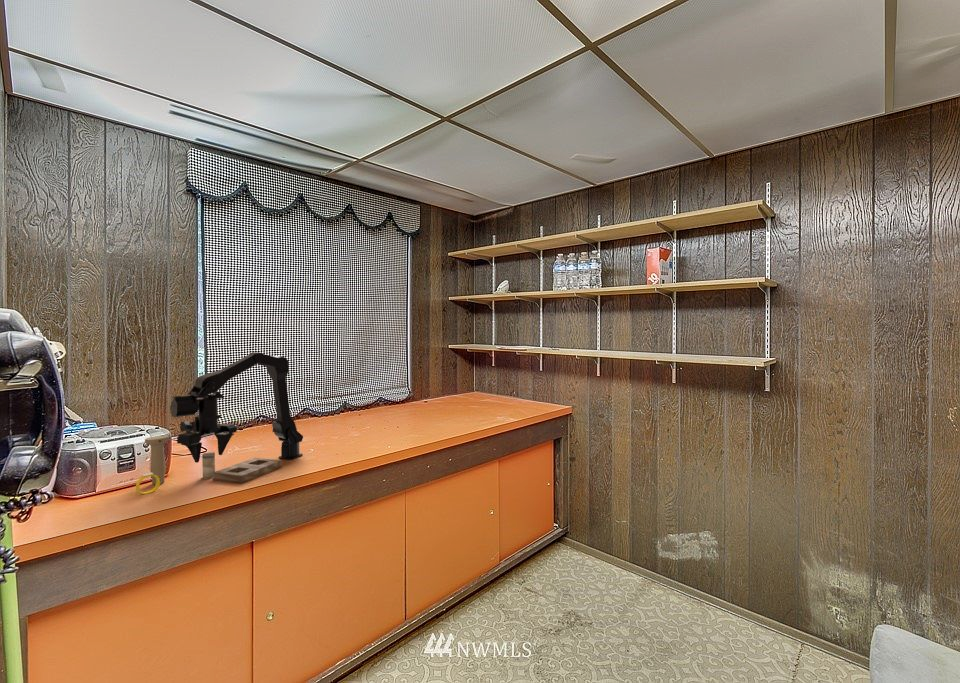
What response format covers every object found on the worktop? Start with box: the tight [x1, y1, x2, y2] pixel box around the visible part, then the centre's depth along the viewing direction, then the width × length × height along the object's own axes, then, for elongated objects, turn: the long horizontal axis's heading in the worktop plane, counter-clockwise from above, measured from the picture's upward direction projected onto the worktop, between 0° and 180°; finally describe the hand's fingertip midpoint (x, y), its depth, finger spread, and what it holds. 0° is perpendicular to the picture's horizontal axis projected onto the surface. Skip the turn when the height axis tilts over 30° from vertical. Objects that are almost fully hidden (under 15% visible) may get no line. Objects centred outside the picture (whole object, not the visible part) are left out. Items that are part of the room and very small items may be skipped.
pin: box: [201, 451, 216, 479], centre depth 154 cm, size 4×4×8 cm
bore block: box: [212, 457, 283, 484], centre depth 158 cm, size 18×12×2 cm, turn 163°
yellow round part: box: [135, 471, 161, 495], centre depth 139 cm, size 6×3×6 cm, turn 151°
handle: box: [144, 434, 170, 486], centre depth 147 cm, size 5×6×15 cm
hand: (208, 458), depth 154 cm, fingers open, 9 cm apart
